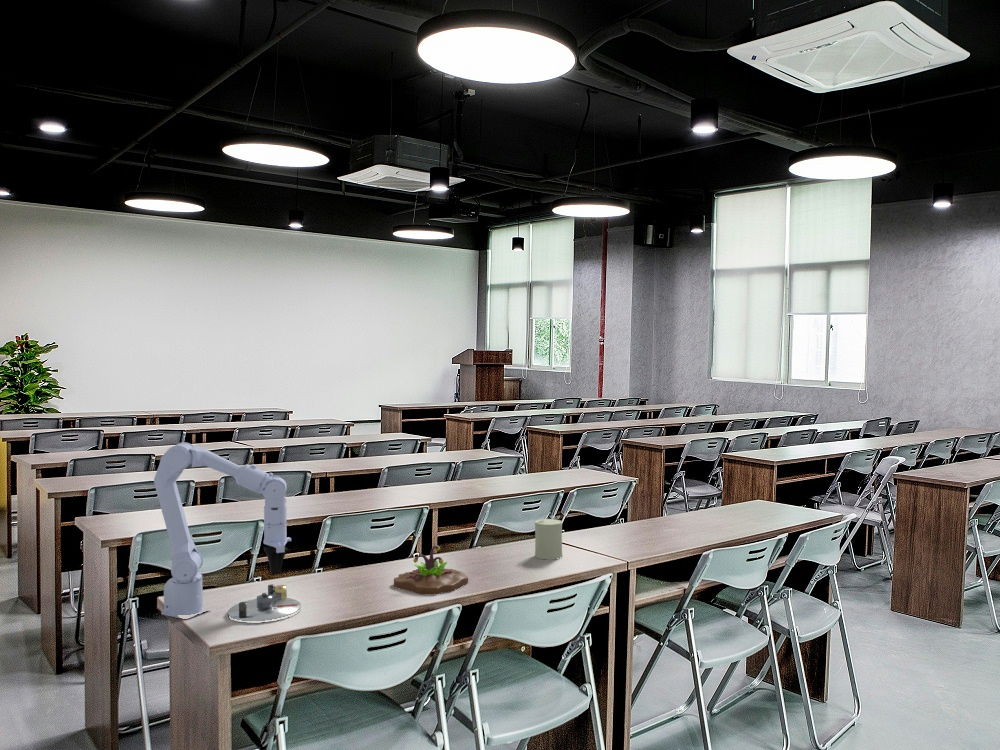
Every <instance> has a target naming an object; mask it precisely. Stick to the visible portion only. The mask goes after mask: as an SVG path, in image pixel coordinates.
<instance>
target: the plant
mask: <svg viewBox="0 0 1000 750" xmlns="http://www.w3.org/2000/svg"><path fill="white" fill-rule="evenodd" d="M434 550H435V551H437V552H438V551H440V550H441V547H440V546H439V545H437V544H435V545H432V548H431V549H430V552H429V558H428V557H427V556H426V555H424V554H419V555H417V556H415V557H414V558H413V566H414V567H416V568H417V569H415V570H414V569H413V570H412V571H408V572H404V573H400V574H398V576H397V577H394V578H393V587H394V588H396V587H397V588H396V589H398V588H400V590H403V589H404V591H408V590H409V591H408V592H411V591H412V593H415V594H416V593H418V594H417V595H425V594H431V595H432V594H438V595H440V594H442V593H441V592H444V593H449V592H448V591H452V592H454V591H456V590H458V588H459V589H461V588H462V587H461V586H463V585H465V586H467V585H468V584H469V576H468V575H466V574H465V572H462V571H461V570H456V569H452V568H445V567H446V565H447V564H448V562H447V561H446V562H444V559H443V558H442V557H440V556H437V557H434ZM419 558H423V560H424V562H422V561H420V564H416V563H418V561H419ZM467 583H468V584H467ZM466 584H467V585H466ZM460 587H461V588H460ZM463 587H464V586H463ZM455 589H456V590H455ZM419 593H420V594H419ZM439 593H440V594H439Z"/></svg>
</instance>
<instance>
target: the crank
mask: <svg viewBox="0 0 1000 750" xmlns="http://www.w3.org/2000/svg"><path fill="white" fill-rule="evenodd" d="M287 593H288V592H287V585H286V584H278V585H275V592H274V593H272V594H268V596H265V597H263V596H262V594H260V595H257V596H256V599H257V608H259V609H267V608H271V607H272V606H273V604H275V603H277V602H279V601H281V600H284V599H286V598H288V596H287Z"/></svg>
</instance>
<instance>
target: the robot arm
mask: <svg viewBox="0 0 1000 750" xmlns="http://www.w3.org/2000/svg"><path fill="white" fill-rule="evenodd" d="M190 465H191V468H196V467H198V468H199V467H207V468H209V469H212V470H214V471H218V472H220V473H223V474H225V475H228V476H229V477H233V478H234V480H235V482H236V484H237V485H238V486H240V487H243V488H245V489H247V490H250V491H252V492H254V493H256V494H259V495H260V494H262V496H263V497H264V506H263V528H264V529H263V534H264V537H263V544H264V545H266V546H264V547H263V550H264V552H265V555H266V557H267V561H268V565H269V570H270V574H271V575H272V576H275V575H280V574H281V572H282V568H283V562H284V559H285V556H286V554H287V552H288V549H289V548H287V545H286V544H287V543H289V542H292V538H291V537H289V536H288V537H287V534H288V533H287V526H288V525H287V519H288V518H287V504H286V503H287V497H286V494H287V486H288V485H287V482H286V480H285V479H283V478H282V477H281V476H280V475H274V473H272V472H269V473H267V472H266V471H263V470H261V469H259V468H257V467H258V466H257V465H256V464H254V463H252V464H248V463H246V464H243V465H239V464H236V463H234V462H233V461H230V460H228V459H226V458H224V457H223V456H220V455H218V454H216V453H215V452H212V451H210V450H208V449H206V448H203V447H201V446H198V445H194V444H191V443H190V442H186V441H183V442H178V443H177V444H175V445H173V446H171V447H169V448H168V449H166V451H165V453H164V454H163V455H162V456H161V457H160V460H159V465H158V468H157V469H156V472H155V476H154V478H153V484H154V487H155V491H156V494H157V498H158V502H159V505H160V510H161V513H162V516H163V520H164V524H165V529H166V531H167V535H168V538H169V542H170V545H171V546H170V547H171V551H170V553H171V554H170V557H171V561H172V565H171V567H170V573H171V576H172V577H171V578H169V579H168V580H167V581H166V583H165V585H164V588H163V611H162V612H160V613H161V615H163V616H168V617H172V618H177V619H179V618H178V615H191V614H196V613H199V612H201V611H202V610H203V607H204V605H203V604H204V603H203V601H204V600H203V596H204V595H203V593H204V592H203V574H202V573H201V572H200V569H201V568H202V566H203V564H204V559H203V555H202V554H201V553H200V551H198V549H197V547H196V544H195V542H194V541H193V539H192V536H191V534H190V529H189V526H188V522H187V517H186V513H185V510H184V506H183V503H182V500H181V499H182V498H181V495H180V492H179V489H178V484H177V480H178V479H179V478H180V476H181V474H182V473H183V472H184V470H186V469H187V468H188V467H189V466H190Z"/></svg>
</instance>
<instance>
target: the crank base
mask: <svg viewBox="0 0 1000 750" xmlns="http://www.w3.org/2000/svg"><path fill="white" fill-rule="evenodd" d="M275 586H276V584H268V585H267V592H262V593H261V595H262V596H263V597H265V596H268V594H272V593H274V592H275ZM301 605H302V604H301V602H300V601H298V600H296V599H293V598H290V597H287V598H286V599H284V600H281V601H279V602H277V603H275V604H273V606H272V607H271V608H267V609H259V608H257V598H254V599H249V600H244V601H240V602H238V603H236V604H235V605H233V606H232V607H230V608H229V609H228V612H227V613H228V614H229V616H230V617H231V618H233V619H237V620H242V621H265V620H272V619H277V618H281V617H285V616H288V615H291V614H293V613H295V612H297V611H298V610H299V609H300V607H302V606H301ZM228 614H227V615H228Z"/></svg>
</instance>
